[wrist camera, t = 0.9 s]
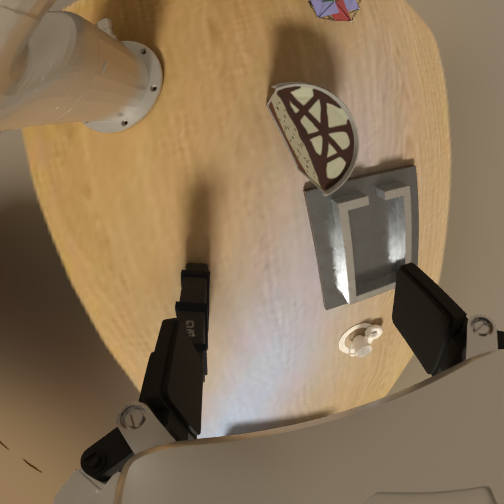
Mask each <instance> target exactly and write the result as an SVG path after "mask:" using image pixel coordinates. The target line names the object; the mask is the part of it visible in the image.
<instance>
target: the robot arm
mask: <svg viewBox="0 0 504 504" xmlns="http://www.w3.org/2000/svg"><path fill="white" fill-rule="evenodd" d="M56 1H57V0H0V134H1V133H4V132H6V131H10V130H14V129H19V128H24V127H30V126H38V125H49V124H60V123H73V122H82V123H83V124H84V125H85V126H87V127H89V128H90V129H92V130H94V131H97V132H103V133H114V132H119V131H123V130H126V129H128V128H131V127H132V126H134V125H136V124H137V123H139V122H140V121H141V120H142V119H143V118H145V117H146V116H147V115H148V113H149V112H150V111H151V110H152V109H153V107H154V105H155V104H156V102H157V100H158V98H159V95H160V93H161V89H162V84H163V71H162V66H161V64H160V61H159V59H158V57H157V56H156V55H155V53H154V52H153V51H152V50H151V49H150V48H148V47H147V46H145V45H144V44H141V43H138V42H136V41H119V40H118V38H117V35H113V26H112V21H111V19H110V18H104V19H102V20H100V21H98V22H97V24H96V25H97V26H95V25H94V24H92V23H91V22H89V21H88V20H86V19H84V18H83V17H81V16H79V15H77V14H75V13H72V12H67V11H49V9H50V8H51V7H52V5H53V4H54V3H55V2H56ZM144 52H146V53H145V54H143V53H144ZM155 87H156V88H157V90H156V91H154V88H155ZM126 121H127V122H128V124H127V125H126V124H125V122H126ZM392 320H393V323H394V325H395V326H396V328H397V329H398V330H399V332H400V333H401V335H402V336H403V338H404V339H405V340H406V342H407V343H408V345H409V346H410V348H411V349H412V351H413V352H414V354H415V355H416V357H417V358H418V360H419V361H420V363H421V364H422V366H423V367H424V369H425V370H426V372H427V373H428V374H431V375H432V376H433V377H431V378H428V379H426V380H424V381H422V382H420V383H418V384H415V385H413V386H411V387H409V388H406V389H404V390H402V391H399V392H397V393H394V394H392V395H389V396H387V397H384V398H381V399H379V400H376V401H373V402H370V403H368V404H365V405H362V406H359V407H356V408H353V409H350V410H347V411H343V412H340V413H337V414H333V415H330V416H326V417H322V418H319V419H315V420H311V421H307V422H303V423H298V424H294V425H289V426H285V427H280V428H275V429H269V430H263V431H257V432H251V433H244V434H237V435H230V436H222V437H212V438H202V439H197V435H199V434H200V433H201V411H202V390H203V372H204V368H203V364H202V361H201V359H200V357H199V355H198V353H197V351H196V349H195V347H194V345H193V343H192V341H191V338H190V336H189V334H188V332H187V330H186V328H185V325H184V323H183V321H181V320H180V321H178V319H177V318H171V319H165V320H163V322H162V325H161V329H160V332H159V336H158V340H157V343H156V347H155V351H154V352H152V353H151V355H150V358H149V361H148V365H147V369H146V373H145V377H144V381H143V385H142V389H141V394H140V398H139V402H132V403H129V404H127V405H125V406H124V407H122V408H121V409H120V411H119V412H118V414H117V417H116V423H117V426H118V427H116V428H115V429H114V430H112V431H111V432H110V433H108V434H107V435H106V436H105V437H103V438H102V439H100V440H99V441H97V442H96V443H95V444H93V445H92V446H91V447H89V448H88V449H87V450H86V451H84V453H83V455H82V457H81V467H82V468H81V469H80V470H78V469H76V470H75V472H74V473H73V474H72V475H71V477H70V478H69V479H68V480H67V482H66V483H65V484H64V485H63V487H62V488H61V489H60V490H59V492H58V493H57V494H56V496H55V498H54V504H504V332H503V331H498V330H497V329H496V325H495V323H494V321H493V320H492V319H491V318H489V317H487V316H485V315H474V316H472V317H470V319H468V318H467V317H466V313H465V312H464V311H463V310H462V309H461V308H460V307H459V306H458V305H457V304H456V303H455V302H454V301H453V300H452V299H451V298H450V297H449V296H448V295H447V294H446V293H445V292H444V291H443V290H442V289H441V288H440V287H439V286H438V285H437V284H436V283H435V282H434V281H433V280H432V279H431V278H429V277H428V276H427V275H426V274H425V273H424V272H423V271H422V270H421V269H420V268H418V267H417V266H416V265H415V264H414V263H412V262H410V263H407V264H404V265H401V266H400V268H399V269H398V270H397V274H396V286H395V296H394V305H393V313H392Z"/></svg>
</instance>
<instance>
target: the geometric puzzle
mask: <svg viewBox="0 0 504 504" xmlns="http://www.w3.org/2000/svg"><path fill="white" fill-rule="evenodd" d="M310 1H311V3H310V2H309V1H308V2H309V3H310V4H309V5H311V4H312V5H313V7H314V10H315V12H316V13H315V14H317V18H319V17H323V16H328V15H331V14H332V16H333V18H334V21H351V22H352V20H351V19H350V16H349V13H348V11H350V10H355V11H356V9H357V10H359V7H360V6H359V7H358V5H357V2H356V0H310ZM359 2H361V1H359ZM358 4H359V3H358ZM312 5H311V6H312ZM311 8H312V7H311ZM314 10H313V11H314ZM352 12H354V11H352ZM350 13H351V12H350ZM356 13H357V12H356ZM354 14H355V13H354ZM355 15H356V14H355ZM353 16H354V15H353ZM328 17H329V16H328ZM353 18H354V17H353ZM353 18H352V19H353ZM322 19H324V18H322ZM327 19H328V20H330V19H332V18H331V17H330V18H327Z"/></svg>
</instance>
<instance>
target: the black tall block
mask: <svg viewBox="0 0 504 504" xmlns="http://www.w3.org/2000/svg"><path fill="white" fill-rule="evenodd" d="M209 285H210V271H208V265H207V264H193V263H188V264H187V265H186V269H185V270H182V272H181V287H182V289H181V296H180V302H177V301H176V305H175V311H176V316H177V319H178V321H180V320H181V321H183V323H184V325H185V328H186V330H187V332H188V334H189V336H190V338H191V341H192V343H193V345H194V347H195V349H196V351H197V353H198V355H199V357H200V359H201V361H202V364H203V368H204V372H203V382H205V375H207V350H208V329H209Z"/></svg>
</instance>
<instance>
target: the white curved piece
mask: <svg viewBox="0 0 504 504" xmlns="http://www.w3.org/2000/svg"><path fill="white" fill-rule="evenodd" d="M358 328H367V329H366V331H365V337H366V338H367V339H368V341H367V340H366V339H365V338H364V337H363V336H362V335H357V336H355V337H354V338H353V341H352V343H351V345H350V347H349V348H347V347H345V345H344V341H345V339H346V337H347V336H348V334H350V333H351V332H352V331H354V330H356V329H358ZM382 331H383V329H382V327H381V326H380V325H372V324H369V323H362V324H358V325H355V326H353V327H352V328H350V329H349V330H347V331H346V332H345V333H344V334H343V335H342V337H341V339H340V341H339V348H340V350H341V351H342V352H344V353H349V355H350V356H355V355H357V356H358V357H360V358H362V357H365V356H367V355H368V354H369V353H370V352H371V350H372V347H371V346H370V343H371V342H372V341H373V339H376V338H378V337H379V336H380V335H381V334H382ZM352 345H353V347H354V349H351V347H352ZM350 353H354V354H350Z"/></svg>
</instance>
